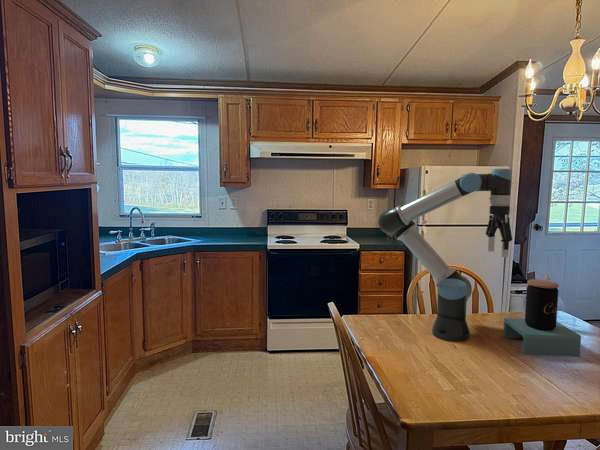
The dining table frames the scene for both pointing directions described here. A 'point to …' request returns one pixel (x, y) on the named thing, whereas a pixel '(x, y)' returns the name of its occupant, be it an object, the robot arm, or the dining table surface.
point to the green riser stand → (543, 338)
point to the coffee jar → (541, 304)
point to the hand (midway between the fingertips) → (497, 254)
